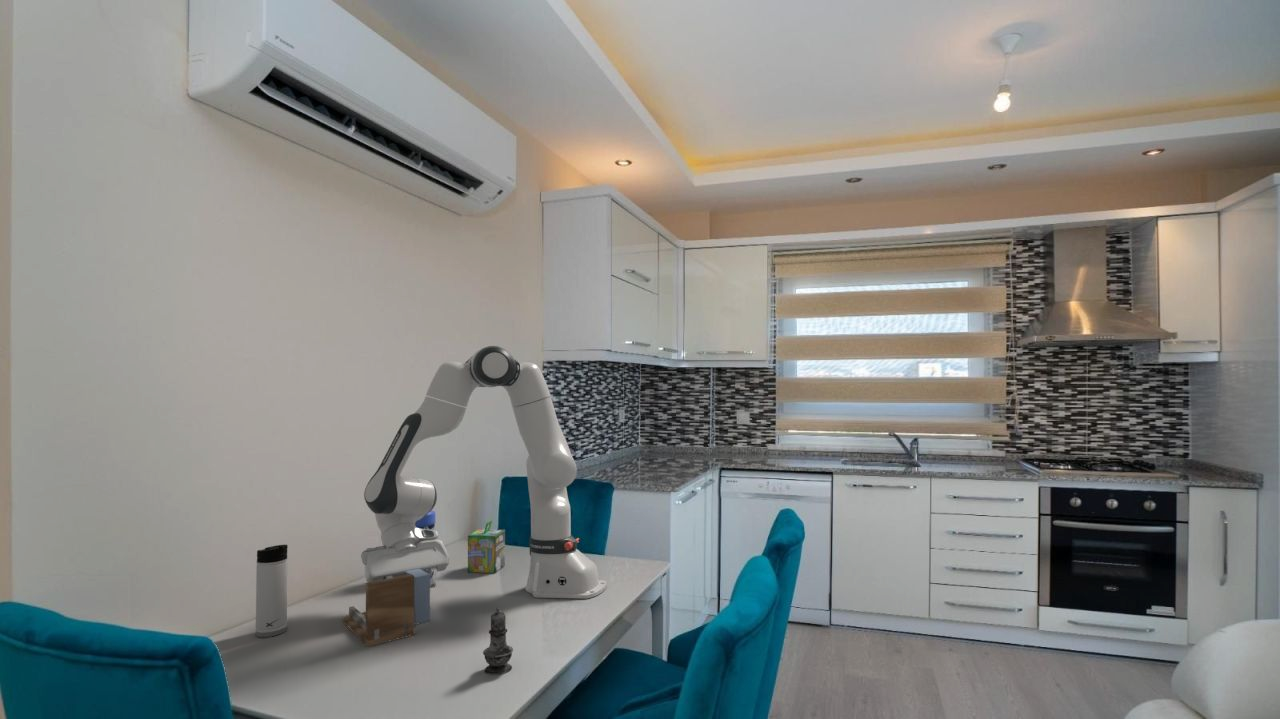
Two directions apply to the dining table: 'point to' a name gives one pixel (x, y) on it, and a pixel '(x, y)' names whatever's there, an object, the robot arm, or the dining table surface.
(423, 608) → the pale blue rectangular block
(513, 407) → the robot arm
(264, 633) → the travel mug
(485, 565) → the chalk box
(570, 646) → the dining table surface
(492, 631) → the salt shaker
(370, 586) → the brown wooden holder
